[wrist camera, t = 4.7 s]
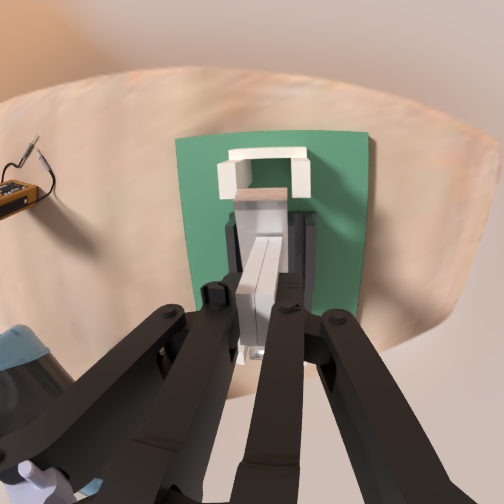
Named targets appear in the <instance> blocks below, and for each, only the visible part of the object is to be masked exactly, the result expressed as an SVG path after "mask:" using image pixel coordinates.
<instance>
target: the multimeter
mask: <svg viewBox="0 0 504 504" xmlns="http://www.w3.org/2000/svg"><path fill="white" fill-rule="evenodd" d="M36 136H37V135H36ZM36 136H35V137H34V139H33V141H34V140H35V138H36ZM33 141H32V142H31V143H29V146H28V147H27V149H26V151H25V153H24V154H23V157H22V159H21V161H20V163H19V165H18V166H16V165H15V164H13V163H9V164H7V165H6V166H5V168H4V170H3V174H2V181H1V183H0V220H3V219H5V218H7V217H9V216H11V215H14V214H16V213H18V212H20V211H23V210H25V209H28V208H30V207H32V206H35V205H36V204H37V202H38V201H40V200H42V199H43V198H45V197H47V196H48V195H49V194H50V193H51V191H52V189H53V186H54V183H55V179H54V176H53V174H52V172H51V171H50V168H49V166H48V165H47V163H46V162H45V160H44V159H43V156H40V154H39V153H38V151H37V150H36V148H35V150H36V152H37V154H38V155H39V159H40V160H41V162H42V163H43V165H44V166H45V168H46V169H47V171H49V172H50V174H51V176H52V178H53V184H52V187H51V190H50V192H49V193H48V194H46V195H45V196H43V197H41V198H40V199H38V200H37V187H36V186H35V185H30V184H26V183H22V182H19V181H16V180H9V181H6V182H3V175H4V171H5V169H6V167H7V166H8V165H10V164H12V165H13V166H14V167H16V168H18V167H19V166H20V164H21V162H22V161H23V159H24V158H25V156H26V155H27V153H28V151H29V150H30V148H31V146H32V143H33ZM2 182H3V183H2Z"/></svg>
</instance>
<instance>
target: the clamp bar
mask: <svg viewBox="0 0 504 504" xmlns="http://www.w3.org/2000/svg"><path fill="white" fill-rule="evenodd" d="M233 203H234V211H235V218H236V225H237V232H238V239H239V246H240V253H241V260H242V267H243V272H244V269H245V266H246V264H247V261H248V258H249V256H250V253H251V250H252V248H253V245H254V242H255V240H256V237H282V249H283V273H288V216H287V188H245V189H237V192H236V195H235V198H234V201H233ZM264 349H265V346H258V345H257V346H250V352H249V356H250V359H251V360H263V354H264Z"/></svg>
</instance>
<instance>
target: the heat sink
mask: <svg viewBox="0 0 504 504" xmlns="http://www.w3.org/2000/svg"><path fill="white" fill-rule="evenodd" d="M287 216H288V273H299V274H300V275H301V276H302V277H303V305H304V308H305V309H306V310H307V311H308V312H310V313H312V296H313V292H314V283H315V261H316V223H317V213H316V211H287ZM225 235H226V246H227V258H228V268H229V273H230V272H233V273H243V267H242V260H241V253H240V246H239V239H238V232H237V225H236V218H235V212H231V213H230V214H229V221H228V223H227V224H226V225H225Z"/></svg>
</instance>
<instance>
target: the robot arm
mask: <svg viewBox="0 0 504 504" xmlns="http://www.w3.org/2000/svg"><path fill="white" fill-rule="evenodd" d="M200 291H201V297H202V303H203V306H202V307H201V309H200V310H199V311H195V312H187V313H185V312H184V308H183V307H182V306H180V305H178V304H167V305H164V306H161V307H160V308H158V309H157V310H156V311H154V312H153V313H152V314H151V315H150V316H149V317H148V318H146V319H145V320H144V321H143V322H142V323H141V324H140V325H138V326H137V327H136V328H135V329H134V330H133V331H132V332H130V333H129V334H128V335H127V336H126V337H125V338H124V339H122V340H121V341H120V342H119V343H118V344H117V345H116V346H115V347H113V348H112V349H111V350H109V351H108V353H107V354H106V355H104V356H103V357H102V358H101V359H100V360H99V361H98V362H97V363H96V364H94V365H93V366H92V367H91V368H90V369H89V370H88V371H87V372H86V373H84V374H83V375H82V376H81V377H80V378H79V379H78V380H77V381H76V382H75V381H74V379H73V378H72V377H71V376H70V375H69V374H68V373H67V372H66V370H65V369H64V368H63V367H62V366H61V365H60V364H59V362H58V361H57V360H56V359H55V357H54V356H53V355H52V354H51V353H50V350H49V348H47V347H45V345H44V344H43V343H42V342H41V341H40V339H39V338H38V337H37V336H36V335H35V333H34V332H33V331H32V330H31V329H30V328H29V327H28V326H26V325H21V324H20V325H16V326H14V327H12V328H10V329H9V330H7V331H5V332H4V333H2V334H1V335H0V480H1V481H2V482H3V483H4V485H5V487H6V490H7V493H8V496H9V498H10V501H11V504H297V499H298V488H299V476H300V465H299V464H300V446H301V430H302V408H303V380H304V361H305V362H309V363H313V364H316V368H317V371H318V374H319V376H320V379H321V382H322V384H323V387H324V390H325V392H326V395H327V398H328V401H329V403H330V406H331V409H332V412H333V414H334V417H335V420H336V423H337V425H338V428H339V431H340V434H341V437H342V439H343V442H344V445H345V448H346V450H347V453H348V456H349V459H350V462H351V465H352V468H353V470H354V473H355V476H356V479H357V482H358V485H359V488H360V491H361V493H362V496H363V500H364V502H365V504H477V503H476V502H475V501H474V500H472V499H471V498H470V497H469V496H468V495H466V494H465V493H464V492H463V491H462V490H460V489H459V488H458V487H457V486H456V485H455V484H453V483H452V482H451V481H450V479H449V477H448V475H447V473H446V471H445V469H444V467H443V465H442V463H441V461H440V459H439V458H438V456H437V454H436V452H435V450H434V448H433V446H432V444H431V443H430V441H429V439H428V437H427V435H426V434H425V432H424V430H423V428H422V427H421V425H420V423H419V421H418V419H417V418H416V416H415V415H414V412H413V411H412V409H411V407H410V406H409V404H408V402H407V400H406V399H405V397H404V395H403V394H402V392H401V390H400V389H399V387H398V385H397V383H396V382H395V380H394V379H393V377H392V375H391V374H390V372H389V370H388V369H387V367H386V365H385V364H384V362H383V361H382V359H381V357H380V356H379V354H378V353H377V351H376V349H375V348H374V346H373V345H372V343H371V342H370V340H369V338H368V337H367V335H366V334H365V332H364V331H363V329H362V328H361V326H360V325H359V323H358V322H357V320H356V318H355V317H354V315H353V314H351V313H350V312H349V311H347V310H344V309H330V310H327V311H325V312H324V313H323V314H322V316H319V315H315V314H312V313H310V312H308V311H307V310H306V309H305V308H304V305H303V277H302V276H301V275H300V274H299V273H283V249H282V237H256V240H255V242H254V245H253V248H252V250H251V253H250V256H249V258H248V261H247V264H246V266H245V269H244V272H243V273H233V272H230V273H228V274H227V275H226V276H224V277H223V279H222V281H213V282H209V283H206V284H204V285H203V286H202V287H201V288H200ZM239 337H240V345H247V346H257V345H258V346H265V349H264V354H263V360H262V366H261V371H260V377H259V382H258V387H257V393H256V398H255V403H254V408H253V413H252V418H251V424H250V429H249V434H248V439H247V443H246V448H245V453H244V457H243V460H242V461H241V462H240V463H239V466H238V468H237V472H236V476H235V480H234V484H233V489H232V493H231V498H230V501H229V502H226V503H225V502H224V503H202V497H203V488H202V487H203V480H204V476H205V473H206V469H207V466H208V462H209V459H210V455H211V452H212V448H213V444H214V441H215V437H216V434H217V430H218V426H219V422H220V419H221V415H222V412H223V408H224V405H225V401H226V397H227V393H228V390H229V386H230V382H231V379H232V375H233V371H234V367H235V364H236V360H237V356H238V341H239ZM162 347H163V348H164V351H163V352H162V353H159V351H160V349H161V348H162ZM76 492H79V493H81V494H84V495H86V496H88V497H86V498H84V499H82V500H79V501H77V500H76V498H75V496H74V495H73V494H74V493H76Z"/></svg>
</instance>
